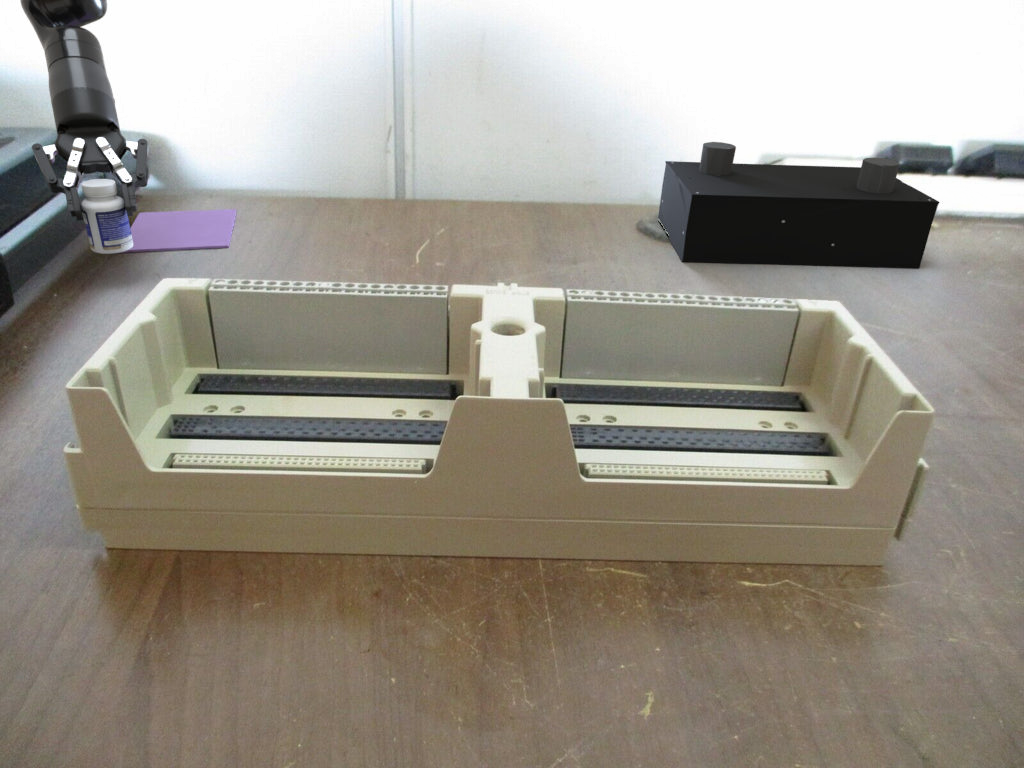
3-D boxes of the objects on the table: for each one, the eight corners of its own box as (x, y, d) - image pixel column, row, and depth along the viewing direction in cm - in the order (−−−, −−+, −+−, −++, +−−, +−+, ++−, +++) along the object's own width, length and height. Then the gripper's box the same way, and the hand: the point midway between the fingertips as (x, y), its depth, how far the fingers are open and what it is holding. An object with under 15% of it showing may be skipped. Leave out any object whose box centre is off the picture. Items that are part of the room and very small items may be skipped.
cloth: (117, 253, 116) (116, 250, 116) (140, 214, 133) (139, 212, 132) (228, 247, 119) (228, 245, 119) (236, 211, 136) (236, 208, 136)
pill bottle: (141, 243, 105) (129, 179, 101) (119, 256, 101) (105, 189, 97) (105, 240, 106) (91, 175, 102) (81, 252, 101) (66, 185, 97)
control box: (681, 261, 120) (696, 165, 113) (655, 216, 141) (665, 132, 134) (919, 268, 121) (948, 172, 114) (856, 222, 142) (878, 139, 135)
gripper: (14, 86, 96) (35, 205, 93) (139, 83, 102) (162, 195, 99) (28, 122, 103) (47, 234, 100) (144, 118, 109) (166, 224, 105)
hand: (105, 214), depth 99 cm, fingers closed on pill bottle, 5 cm apart
